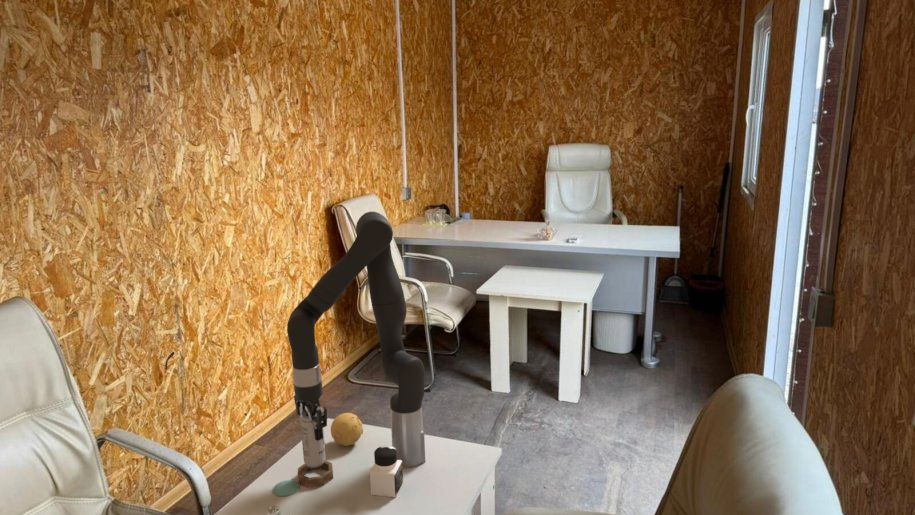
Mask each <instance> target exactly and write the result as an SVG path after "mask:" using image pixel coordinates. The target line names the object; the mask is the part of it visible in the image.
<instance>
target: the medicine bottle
mask: <svg viewBox="0 0 915 515" xmlns="http://www.w3.org/2000/svg"><path fill="white" fill-rule="evenodd" d="M373 456H374V464H373V466H372V467H371V469H370V471H369V484H370V495H372V496H379V497H380V496H381V497H389V498H396V497H397V495H398V494H399V492H400V490H401V488H402V486H403V484H404V474H403V467H402V460H397V451H396V449H395V448H394V447H392V445H382V446H379V447H377V448H376V449H375V450H374V452H373Z"/></svg>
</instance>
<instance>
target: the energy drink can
mask: <svg viewBox="0 0 915 515" xmlns="http://www.w3.org/2000/svg"><path fill="white" fill-rule="evenodd" d="M316 416H317V415H314V416H313V417H316ZM316 424H317V420H316ZM300 431H301V442H302V454H303V464H306V465H307V466H308V467H311V468H315V467H319V466H321V465H322V464H323V463H324V461H326V446H325V432H324V429H323V439H321V440H318V441H317V440H315V433H314V426H313V423H312V421H310V419H309V416H308V414H306V413H303V415H302V419H300Z"/></svg>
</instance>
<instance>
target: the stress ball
mask: <svg viewBox="0 0 915 515" xmlns="http://www.w3.org/2000/svg"><path fill="white" fill-rule="evenodd" d="M363 433H364V427H363V421H362V419H361V418H360V417H359V416H358V415H356V414H354V413H351V412H343V413H340V414H339V415H337V416H336V417H335V418H333V421H332V423H331V425H330V435H331V438H332V439H333V440H334V442H336V444H339V446H340V445H341V446H345V447H350V446H352V445H354V444H355V443H357V442H358V441H359V439H361V436H362V435H363Z"/></svg>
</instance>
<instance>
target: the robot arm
mask: <svg viewBox="0 0 915 515" xmlns="http://www.w3.org/2000/svg"><path fill="white" fill-rule="evenodd" d="M355 234H356V237H355V239H354V241H353V243H352V244H351V246H350V247H349V249H348V250H347V252H346V253H345V254H344V255H343V256H342V257H341V258H340V259H339V261H337V262H336V263H335V264H334V265H333V266H331V267H330V268H329V269H328V270H327V271H326V272H325V273H324V274H323V275H322V276H321V277H320V278H319V280H318V281H317V282H316V284H315V285H314V286H312V288H311V290H310V291H309V293H308V294H307V295H306V297H304V299H302V300H301V301H300V303H299V304H298V305H297V306H295V308H294V310H293V311H292V312H291V313H290V316H289V318H288V321H287V324H286V326H287V327H286V329H287V337H288V342H289V343H288V344H289V346H290V349H291V350H290V351H291V364H292V380H293V389H294V396H293V400H294V405H295V411H296V415H297V416H298V417H299V418H300V420H301V419H302V415H303V413H306V414H308V416H309V419H310V421H312V423H313V426H314V433H315V440H317V441H318V440H321V439H323V430H324V428H327V427H328V413H327V412H328V409H327V407H325V406H324V407H321V402H320V398H321V397H322V395H323V394H324V392H323V391H324V390H323V380H322V379H323V378H322V370H321V367H320V361H319V360H320V358H319V351H318V347H317V344H316V333H315V326H316V324H317V322H318V321H319V320H320V318H321V317H322V316H323V315H324V313H326V312H328V311H329V310H330V309H331V308H333V306H334V305H335V304H336V302H337V301H338V300H339V299H340V297H342V295H343V294H344V292H346V289H347V288H348V287H349V286H350V284H351V283H353V281H354V280H355V279H356V278H357V276H359V274H361V272H362V271H363V270H364V269H365V268H366V269H367V270H366V271H367V284H368V291H369V297H370V298H369V299H370V303H371V308H372V312H373V316H374V321H375V324H376V330H377V335H378V339H379V343H380V344H379V346H380V353H381V355H380V356H381V365H382V370H383V374H384V376H385V377H386V378H387V380H388V381H390V382H391V383H393V384H396V385H398V386H397V387H398V389H397V390H398V391H397V392H396V393H394V394H393V395H391V397H390V399H389V409H390V411H389V412H390V427H391V428H390V430H391V446H392V447H394V448H395V449H396V451H397V460H402V468H413V467H417V466H419V465H420V464H422V463H426V447H425V446H426V441H425V431H424V428H423V427H424V426H423V399H424V397H425V383H426V382H425V374H426V372H425V365H424V363H423V361H422V360H421V359H420V358H418V357H417V356H415V355H412V354H410V353H408V352H407V351H406V348H405V347H404V346H405V345H404V341H403V336H402V332H403V327H404V324H405V321H406V317H407V313H408V312H407V303H406V298H405V293H404V290H403V285H402V282H401V279H400V277H399V276H400V275H399V273H398V271H397V268H396V266H395V263H394V260H393V255H392V249H391V248H392V247H391V243H392V241H393V237H394V232H393V228H392V226H391V223H390V222H389V220H388V219H387V218H386V217H385V216H384V215H383V214H381V213H379V212H376V211H368V212H365V213H364V214H362V215H360V217H359V218H358V220H357V223H356V225H355ZM314 415H317V416H316V417H313V416H314ZM316 420H317V424H316Z"/></svg>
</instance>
